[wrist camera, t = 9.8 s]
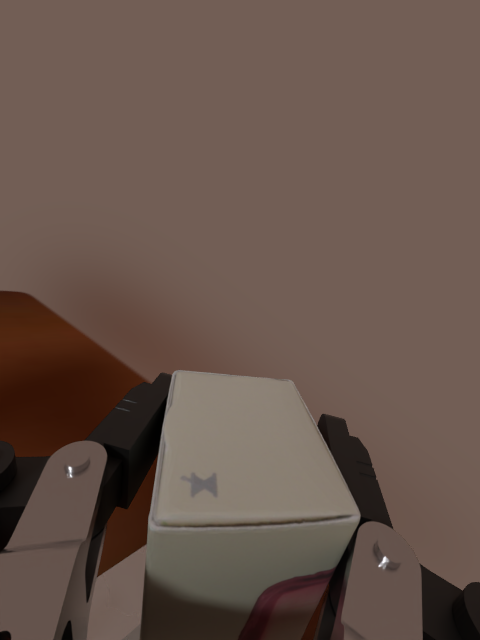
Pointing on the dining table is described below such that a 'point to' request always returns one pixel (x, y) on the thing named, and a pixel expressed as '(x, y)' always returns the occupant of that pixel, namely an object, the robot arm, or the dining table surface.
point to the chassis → (118, 600)
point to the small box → (241, 513)
